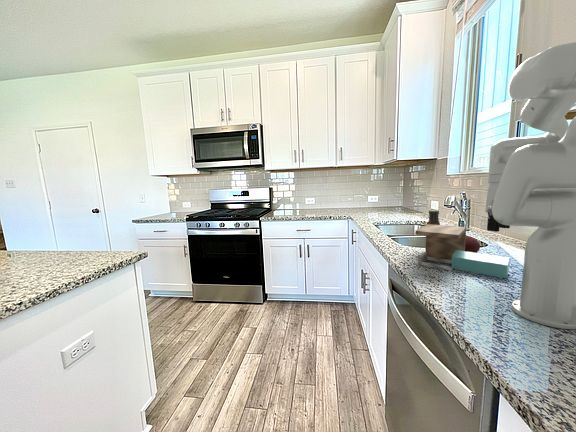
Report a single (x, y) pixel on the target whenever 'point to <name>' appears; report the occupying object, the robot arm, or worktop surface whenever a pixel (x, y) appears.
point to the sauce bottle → (433, 219)
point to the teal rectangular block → (481, 263)
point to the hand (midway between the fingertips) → (498, 229)
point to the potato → (471, 245)
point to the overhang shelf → (441, 244)
